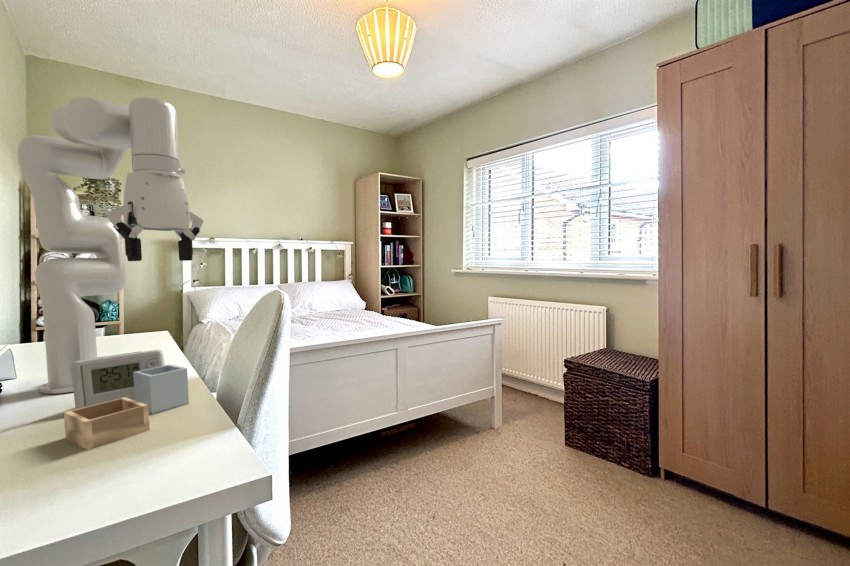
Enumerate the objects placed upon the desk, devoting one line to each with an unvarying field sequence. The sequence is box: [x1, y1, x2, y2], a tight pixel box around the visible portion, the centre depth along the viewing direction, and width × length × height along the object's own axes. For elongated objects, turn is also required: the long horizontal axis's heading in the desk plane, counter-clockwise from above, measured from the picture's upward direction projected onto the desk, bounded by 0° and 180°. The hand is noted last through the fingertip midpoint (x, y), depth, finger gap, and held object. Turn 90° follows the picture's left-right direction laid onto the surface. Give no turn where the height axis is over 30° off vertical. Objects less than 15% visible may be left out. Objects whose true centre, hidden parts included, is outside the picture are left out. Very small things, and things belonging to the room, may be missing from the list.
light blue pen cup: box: [133, 364, 190, 415], centre depth 86 cm, size 7×7×8 cm
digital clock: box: [71, 349, 166, 410], centre depth 89 cm, size 16×9×11 cm, turn 123°
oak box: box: [63, 397, 151, 451], centre depth 72 cm, size 9×9×5 cm
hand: (161, 260), depth 80 cm, fingers open, 9 cm apart
